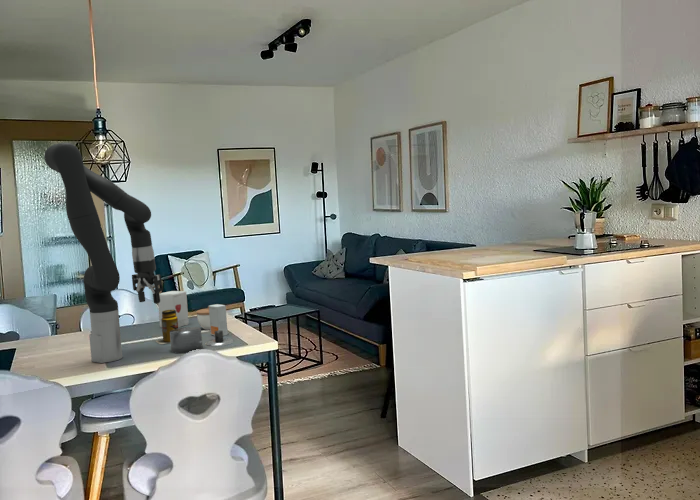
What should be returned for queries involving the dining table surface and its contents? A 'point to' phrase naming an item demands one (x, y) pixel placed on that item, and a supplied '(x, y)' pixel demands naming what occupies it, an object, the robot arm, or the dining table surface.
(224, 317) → the skincare box
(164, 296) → the supplement box
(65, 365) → the dining table surface
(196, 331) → the grey block
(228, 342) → the lid
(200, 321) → the lidded jar
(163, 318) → the condiment
